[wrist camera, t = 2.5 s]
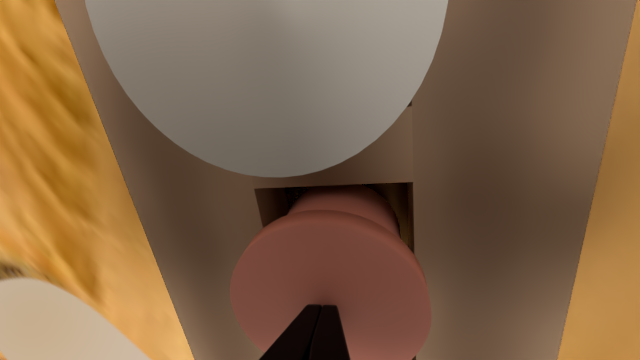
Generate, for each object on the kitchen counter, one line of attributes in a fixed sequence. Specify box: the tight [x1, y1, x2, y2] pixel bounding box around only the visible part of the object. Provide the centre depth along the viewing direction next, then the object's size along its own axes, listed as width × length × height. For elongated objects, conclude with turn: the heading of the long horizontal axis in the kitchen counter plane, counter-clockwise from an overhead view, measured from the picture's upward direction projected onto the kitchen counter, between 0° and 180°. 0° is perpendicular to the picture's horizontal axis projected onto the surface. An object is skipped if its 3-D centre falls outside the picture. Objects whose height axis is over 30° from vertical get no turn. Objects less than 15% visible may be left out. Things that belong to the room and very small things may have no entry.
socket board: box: [54, 0, 637, 360], centre depth 13 cm, size 15×23×3 cm, turn 7°
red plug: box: [230, 184, 432, 360], centre depth 11 cm, size 6×6×4 cm
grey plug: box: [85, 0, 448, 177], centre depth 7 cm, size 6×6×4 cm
